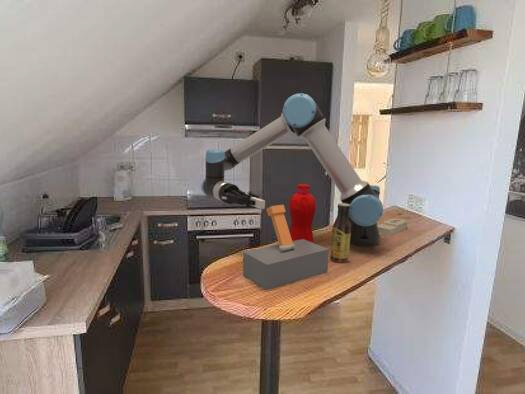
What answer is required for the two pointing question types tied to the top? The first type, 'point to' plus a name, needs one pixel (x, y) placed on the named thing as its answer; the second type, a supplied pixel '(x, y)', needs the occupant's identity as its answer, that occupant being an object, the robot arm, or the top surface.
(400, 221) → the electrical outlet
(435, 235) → the top surface
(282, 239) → the lever
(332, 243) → the sauce bottle
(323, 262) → the breaker box
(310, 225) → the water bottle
